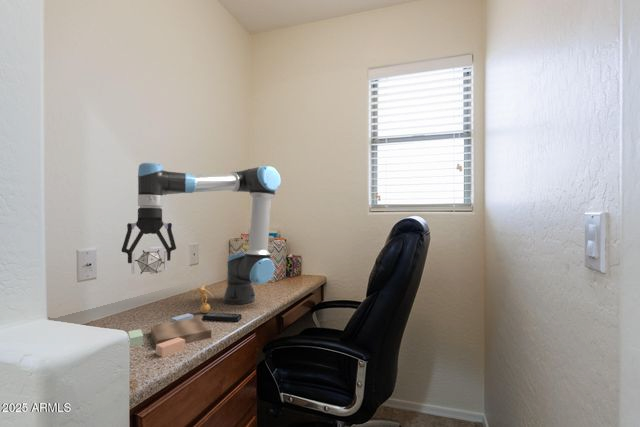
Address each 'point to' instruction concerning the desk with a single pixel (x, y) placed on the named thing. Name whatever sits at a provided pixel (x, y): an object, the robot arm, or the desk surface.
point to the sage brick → (135, 337)
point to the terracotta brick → (170, 347)
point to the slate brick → (182, 317)
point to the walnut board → (181, 331)
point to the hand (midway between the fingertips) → (149, 271)
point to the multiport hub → (222, 317)
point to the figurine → (205, 307)
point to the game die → (149, 261)
